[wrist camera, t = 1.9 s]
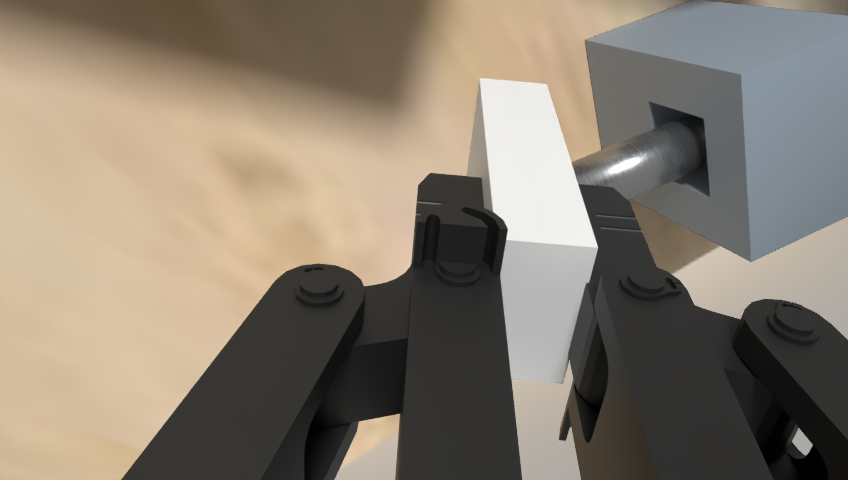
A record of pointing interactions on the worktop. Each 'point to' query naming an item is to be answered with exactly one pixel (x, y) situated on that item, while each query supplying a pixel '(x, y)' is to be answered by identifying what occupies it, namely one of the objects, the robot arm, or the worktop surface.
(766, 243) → the grey rectangular block
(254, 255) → the worktop surface
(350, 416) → the robot arm
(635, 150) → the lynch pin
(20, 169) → the worktop surface
